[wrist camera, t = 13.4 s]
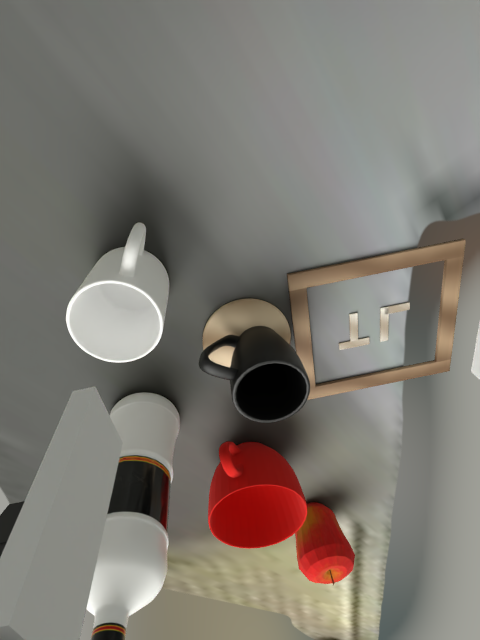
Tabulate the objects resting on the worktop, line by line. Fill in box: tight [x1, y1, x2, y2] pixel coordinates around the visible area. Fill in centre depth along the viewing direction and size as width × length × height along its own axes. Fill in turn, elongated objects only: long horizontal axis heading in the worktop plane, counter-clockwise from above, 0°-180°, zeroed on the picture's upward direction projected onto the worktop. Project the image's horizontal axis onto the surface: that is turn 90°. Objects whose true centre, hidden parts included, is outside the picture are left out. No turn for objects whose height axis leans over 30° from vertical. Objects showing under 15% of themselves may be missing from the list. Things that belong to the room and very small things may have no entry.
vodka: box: [86, 392, 180, 640], centre depth 38 cm, size 9×9×30 cm
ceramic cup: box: [208, 441, 307, 548], centre depth 52 cm, size 13×17×10 cm
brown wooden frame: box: [287, 239, 466, 400], centre depth 48 cm, size 19×21×1 cm
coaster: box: [203, 298, 291, 367], centre depth 47 cm, size 11×11×1 cm
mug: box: [199, 326, 310, 423], centre depth 42 cm, size 8×12×10 cm
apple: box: [295, 503, 355, 585], centre depth 60 cm, size 9×8×12 cm
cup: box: [66, 223, 169, 362], centre depth 37 cm, size 8×12×10 cm
